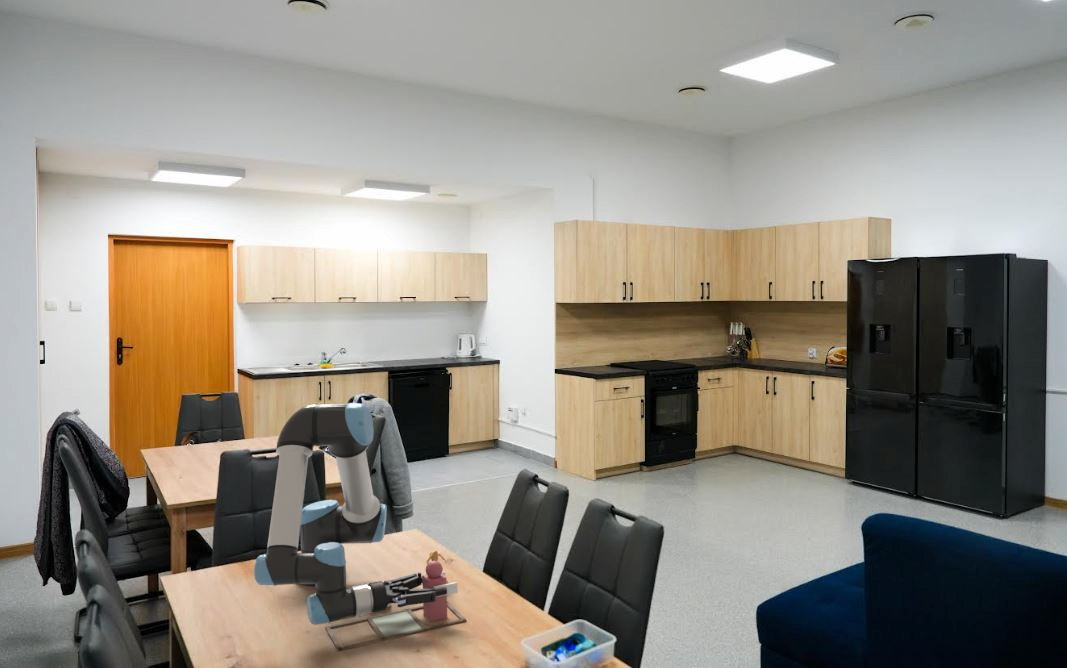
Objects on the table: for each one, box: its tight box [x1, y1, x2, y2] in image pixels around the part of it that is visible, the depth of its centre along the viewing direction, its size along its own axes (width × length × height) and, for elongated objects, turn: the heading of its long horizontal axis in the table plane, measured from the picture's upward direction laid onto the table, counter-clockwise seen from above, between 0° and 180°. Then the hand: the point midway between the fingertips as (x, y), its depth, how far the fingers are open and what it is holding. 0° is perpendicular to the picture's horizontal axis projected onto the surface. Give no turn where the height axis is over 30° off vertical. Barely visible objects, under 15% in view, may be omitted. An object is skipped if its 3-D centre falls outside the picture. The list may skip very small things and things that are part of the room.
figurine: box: [426, 550, 449, 584], centre depth 219 cm, size 8×6×12 cm
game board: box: [324, 601, 467, 652], centre depth 197 cm, size 15×34×1 cm, turn 118°
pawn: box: [422, 560, 448, 622], centre depth 202 cm, size 5×5×15 cm
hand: (450, 581), depth 204 cm, fingers open, 8 cm apart
